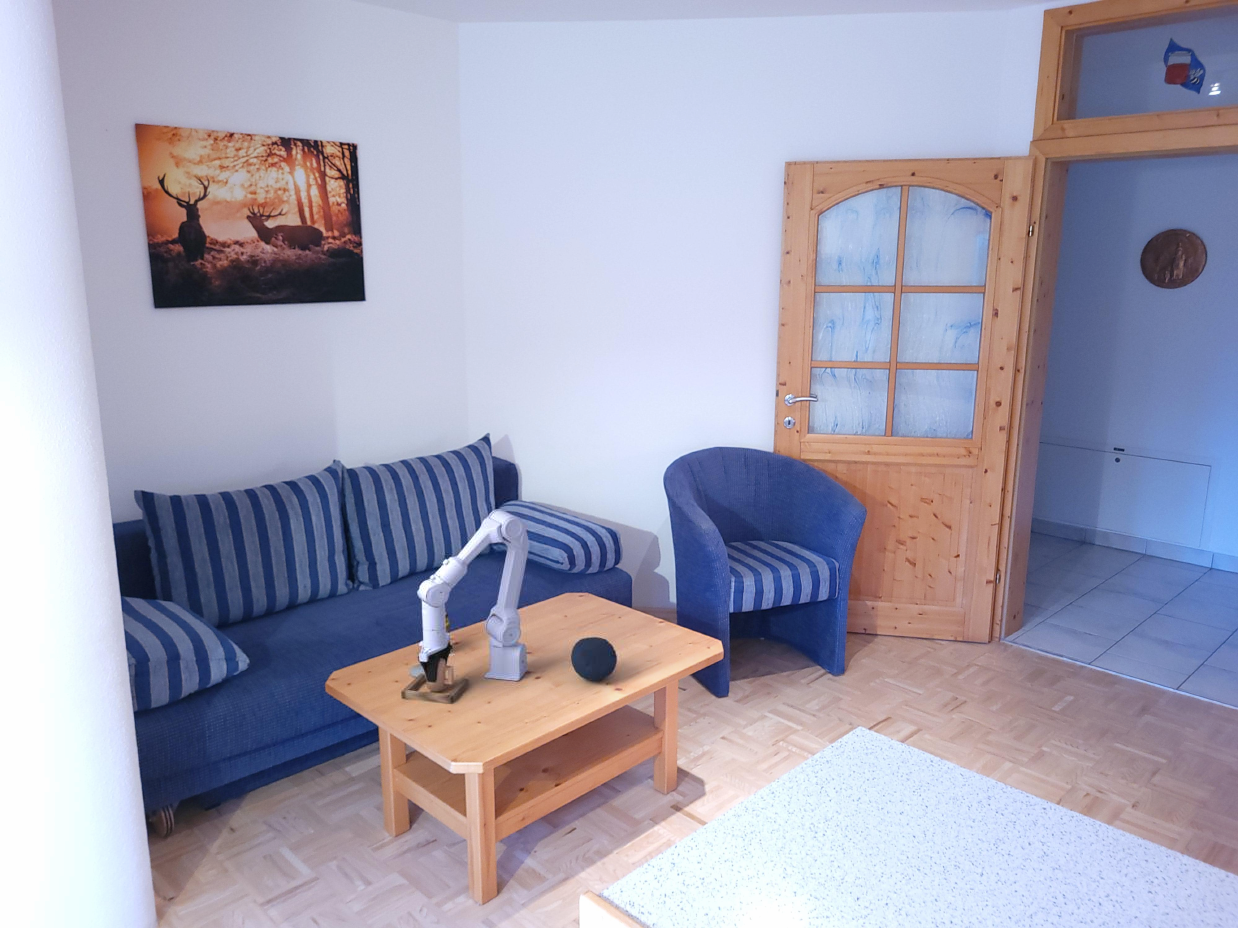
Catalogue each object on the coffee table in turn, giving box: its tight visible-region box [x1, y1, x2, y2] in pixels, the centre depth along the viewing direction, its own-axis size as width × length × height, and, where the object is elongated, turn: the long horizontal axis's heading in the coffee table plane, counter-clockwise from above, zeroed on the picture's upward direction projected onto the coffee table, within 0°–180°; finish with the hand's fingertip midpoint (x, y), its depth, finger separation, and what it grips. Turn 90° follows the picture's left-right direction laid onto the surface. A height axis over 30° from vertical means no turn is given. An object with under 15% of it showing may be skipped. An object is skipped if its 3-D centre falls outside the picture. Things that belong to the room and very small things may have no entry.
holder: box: [400, 674, 470, 705], centre depth 238 cm, size 13×11×2 cm
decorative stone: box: [570, 636, 618, 682], centre depth 246 cm, size 12×12×10 cm
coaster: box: [408, 663, 427, 679], centre depth 250 cm, size 8×8×1 cm
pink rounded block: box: [426, 658, 455, 692], centre depth 238 cm, size 7×5×7 cm
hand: (436, 677), depth 238 cm, fingers closed on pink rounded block, 5 cm apart
